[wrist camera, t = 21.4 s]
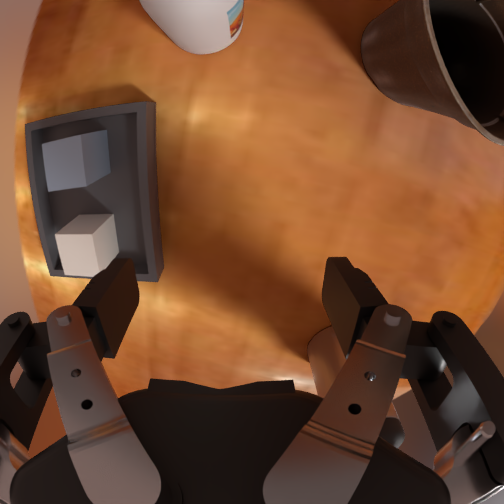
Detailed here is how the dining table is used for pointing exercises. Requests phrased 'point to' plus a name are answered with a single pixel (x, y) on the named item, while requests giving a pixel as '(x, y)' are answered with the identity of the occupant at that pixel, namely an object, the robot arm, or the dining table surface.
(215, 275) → the dining table surface
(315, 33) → the dining table surface
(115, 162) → the dark grey tray
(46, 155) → the slate blue block
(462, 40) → the plant pot
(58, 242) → the cream block
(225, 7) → the milk bottle
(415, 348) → the robot arm
